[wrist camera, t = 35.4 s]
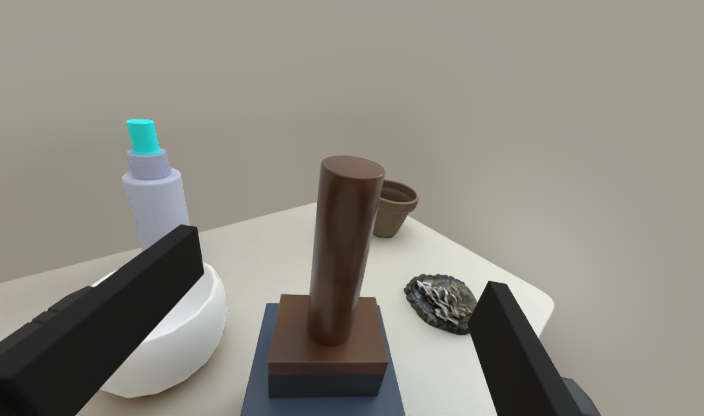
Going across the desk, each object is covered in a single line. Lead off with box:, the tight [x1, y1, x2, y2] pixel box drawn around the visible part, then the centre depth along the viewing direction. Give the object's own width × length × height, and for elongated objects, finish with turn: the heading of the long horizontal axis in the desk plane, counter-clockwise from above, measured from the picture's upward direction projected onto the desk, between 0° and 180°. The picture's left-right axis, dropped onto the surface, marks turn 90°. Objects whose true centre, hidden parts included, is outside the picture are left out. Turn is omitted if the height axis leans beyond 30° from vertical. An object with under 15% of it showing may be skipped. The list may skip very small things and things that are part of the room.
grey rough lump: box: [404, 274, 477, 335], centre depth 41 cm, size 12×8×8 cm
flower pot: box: [373, 180, 419, 237], centre depth 56 cm, size 12×11×10 cm
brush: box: [268, 156, 389, 398], centre depth 15 cm, size 7×5×15 cm
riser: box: [241, 303, 405, 416], centre depth 22 cm, size 10×10×12 cm
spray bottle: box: [122, 119, 190, 251], centre depth 35 cm, size 6×6×22 cm
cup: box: [91, 260, 228, 398], centre depth 27 cm, size 12×12×10 cm
